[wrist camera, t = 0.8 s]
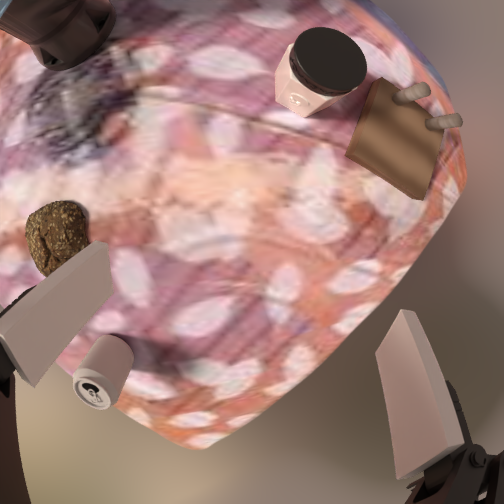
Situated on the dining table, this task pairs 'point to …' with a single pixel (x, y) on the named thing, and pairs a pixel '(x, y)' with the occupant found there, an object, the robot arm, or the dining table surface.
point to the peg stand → (399, 137)
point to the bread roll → (55, 235)
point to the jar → (318, 71)
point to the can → (103, 372)
